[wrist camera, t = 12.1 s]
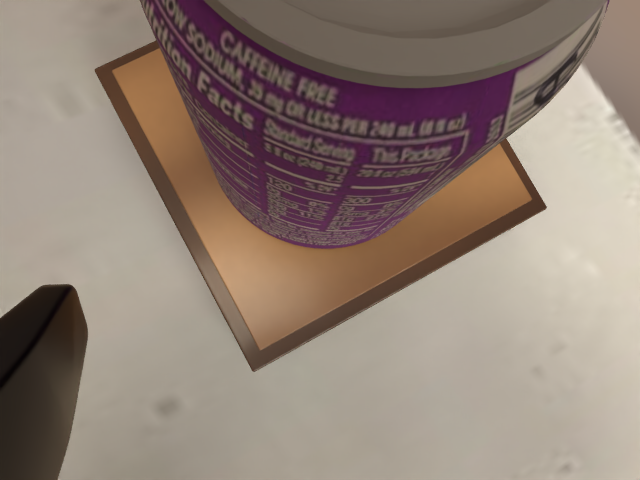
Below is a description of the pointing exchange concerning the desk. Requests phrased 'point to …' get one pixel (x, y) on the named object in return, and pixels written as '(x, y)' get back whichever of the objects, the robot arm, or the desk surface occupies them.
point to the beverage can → (360, 98)
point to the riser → (288, 259)
